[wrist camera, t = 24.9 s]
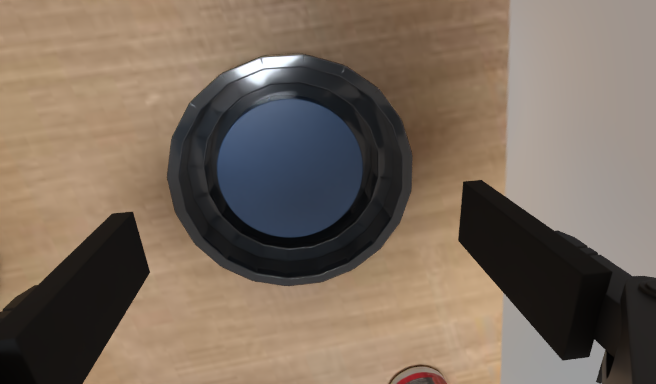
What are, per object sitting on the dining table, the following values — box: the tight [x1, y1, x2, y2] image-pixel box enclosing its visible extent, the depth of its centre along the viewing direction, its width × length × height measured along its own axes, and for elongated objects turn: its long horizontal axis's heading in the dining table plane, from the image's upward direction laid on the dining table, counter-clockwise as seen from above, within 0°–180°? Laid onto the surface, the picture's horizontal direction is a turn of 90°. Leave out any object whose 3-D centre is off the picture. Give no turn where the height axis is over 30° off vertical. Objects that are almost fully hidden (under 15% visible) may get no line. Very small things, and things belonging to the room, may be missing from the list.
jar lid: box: [217, 95, 363, 237], centre depth 23 cm, size 9×9×2 cm
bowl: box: [167, 53, 412, 286], centre depth 22 cm, size 13×13×4 cm
